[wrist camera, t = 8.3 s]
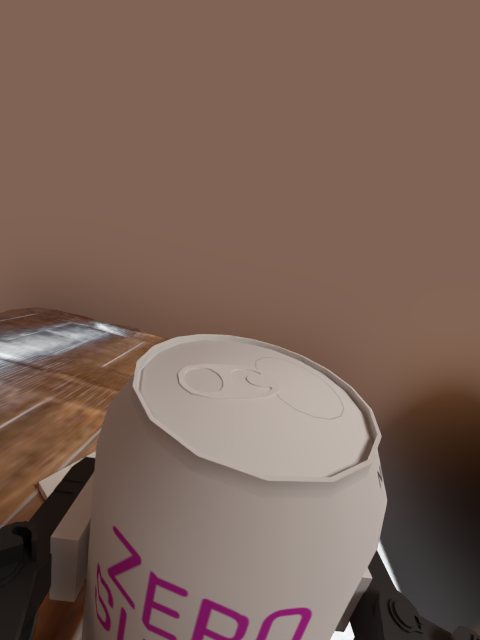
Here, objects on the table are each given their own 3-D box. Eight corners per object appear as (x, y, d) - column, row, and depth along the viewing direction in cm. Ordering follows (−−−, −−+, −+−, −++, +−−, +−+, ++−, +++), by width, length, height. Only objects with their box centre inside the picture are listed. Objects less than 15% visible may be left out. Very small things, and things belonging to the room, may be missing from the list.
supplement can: (235, 535, 16) (293, 337, 12) (301, 789, 9) (499, 481, 5) (102, 568, 13) (127, 320, 9) (27, 1005, 6) (6, 627, 2)
